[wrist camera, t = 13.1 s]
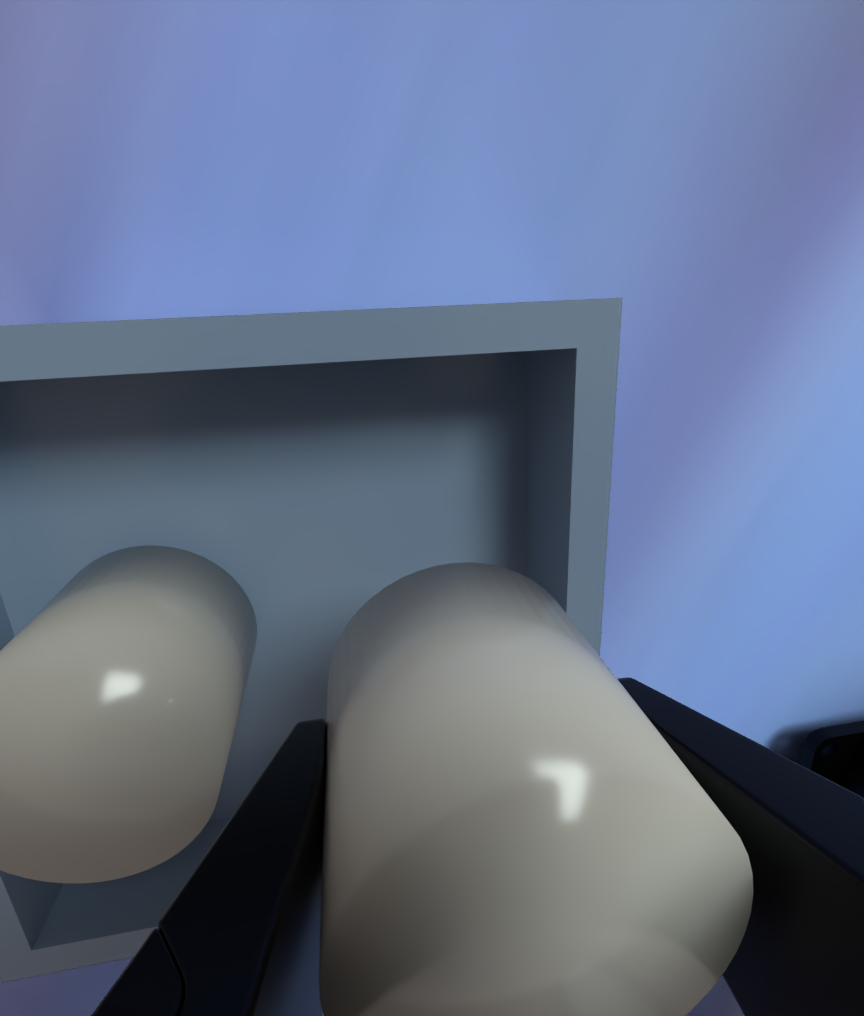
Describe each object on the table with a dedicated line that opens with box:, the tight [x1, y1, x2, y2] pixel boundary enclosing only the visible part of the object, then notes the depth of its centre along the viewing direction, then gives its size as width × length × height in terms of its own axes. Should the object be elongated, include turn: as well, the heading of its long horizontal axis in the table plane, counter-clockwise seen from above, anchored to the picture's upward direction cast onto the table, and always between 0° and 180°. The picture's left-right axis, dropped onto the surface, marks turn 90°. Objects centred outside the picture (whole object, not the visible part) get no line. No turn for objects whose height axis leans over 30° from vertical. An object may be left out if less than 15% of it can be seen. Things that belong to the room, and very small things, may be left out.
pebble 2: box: [319, 562, 753, 1016], centre depth 8 cm, size 4×4×4 cm
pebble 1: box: [0, 545, 257, 884], centre depth 11 cm, size 4×4×4 cm
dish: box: [0, 298, 622, 983], centre depth 12 cm, size 14×14×3 cm
